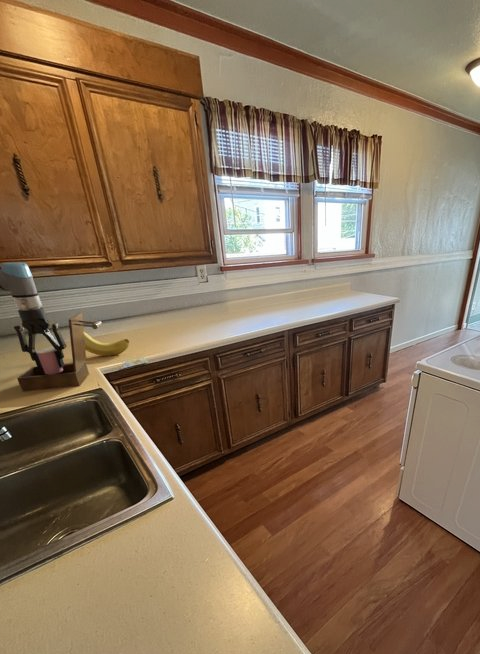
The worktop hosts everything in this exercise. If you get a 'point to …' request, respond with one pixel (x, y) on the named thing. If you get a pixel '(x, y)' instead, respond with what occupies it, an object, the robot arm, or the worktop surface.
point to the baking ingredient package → (134, 362)
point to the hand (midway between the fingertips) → (51, 367)
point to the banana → (105, 346)
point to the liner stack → (49, 361)
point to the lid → (79, 339)
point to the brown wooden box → (52, 378)
